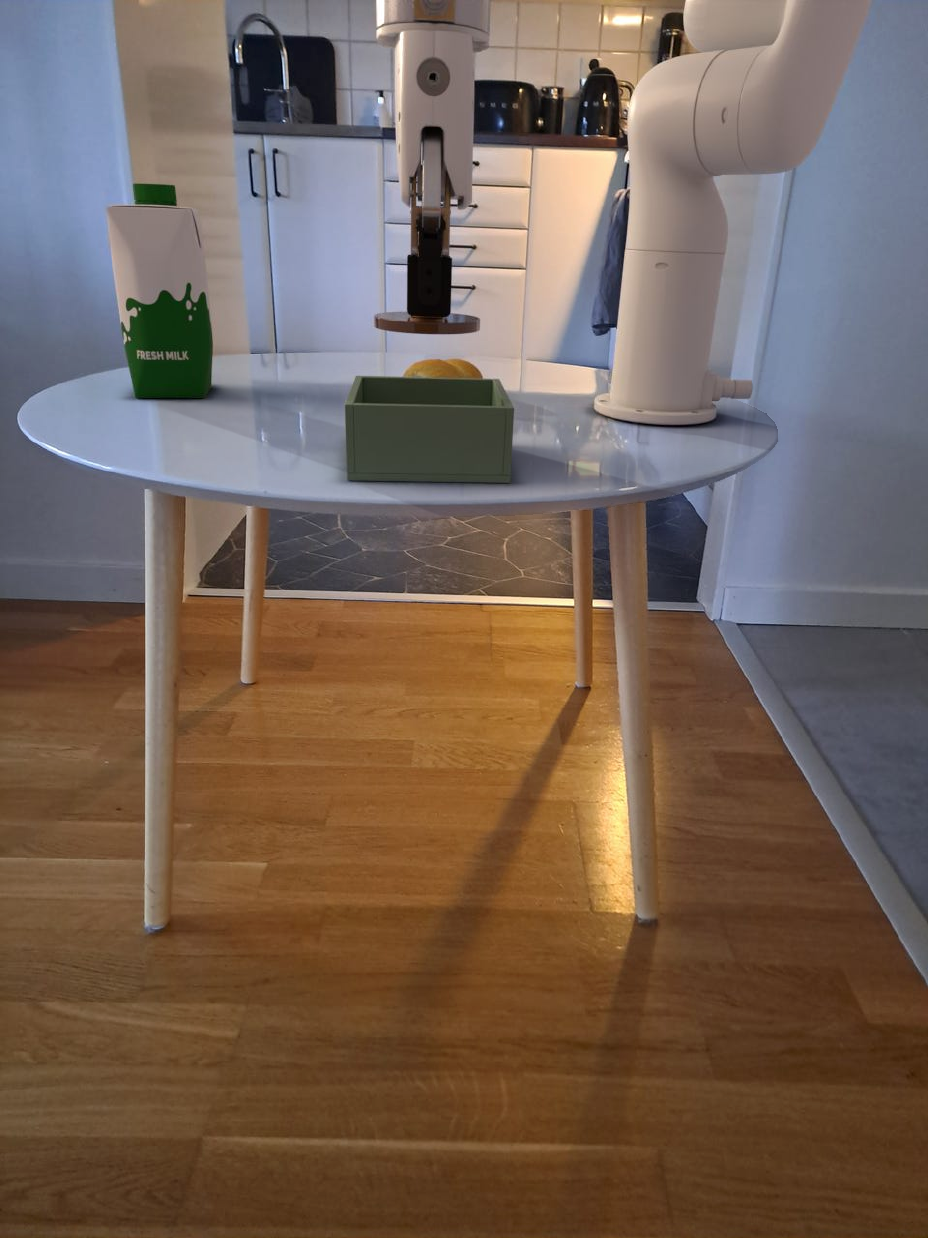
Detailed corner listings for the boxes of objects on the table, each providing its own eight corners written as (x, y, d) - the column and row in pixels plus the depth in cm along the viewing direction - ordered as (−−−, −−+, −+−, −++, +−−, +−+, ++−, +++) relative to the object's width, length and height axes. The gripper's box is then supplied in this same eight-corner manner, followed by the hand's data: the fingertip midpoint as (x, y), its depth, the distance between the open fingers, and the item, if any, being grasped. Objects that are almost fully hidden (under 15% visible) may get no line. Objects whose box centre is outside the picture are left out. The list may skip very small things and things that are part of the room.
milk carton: (220, 384, 95) (202, 186, 86) (212, 400, 87) (191, 183, 78) (139, 384, 93) (112, 183, 85) (123, 400, 85) (92, 179, 77)
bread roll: (496, 395, 94) (498, 358, 93) (440, 404, 88) (441, 365, 87) (444, 384, 99) (445, 349, 98) (388, 392, 94) (388, 355, 92)
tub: (496, 443, 74) (499, 378, 71) (510, 483, 63) (514, 407, 60) (357, 441, 73) (355, 375, 71) (346, 480, 62) (344, 404, 60)
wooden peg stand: (476, 323, 67) (479, 234, 64) (483, 335, 60) (487, 236, 57) (376, 320, 67) (375, 230, 64) (371, 332, 60) (370, 231, 57)
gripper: (501, -10, 48) (486, 327, 56) (481, 45, 63) (471, 306, 71) (370, -17, 48) (373, 324, 55) (380, 39, 62) (382, 302, 70)
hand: (428, 311), depth 63 cm, fingers closed on wooden peg stand, 2 cm apart
